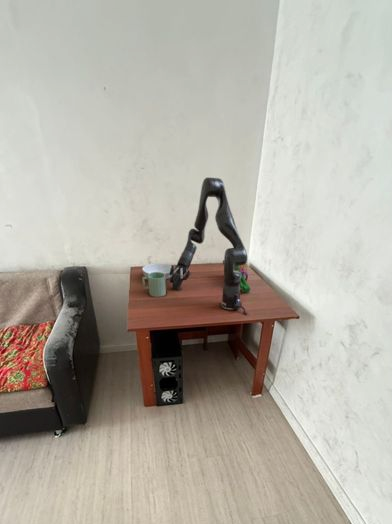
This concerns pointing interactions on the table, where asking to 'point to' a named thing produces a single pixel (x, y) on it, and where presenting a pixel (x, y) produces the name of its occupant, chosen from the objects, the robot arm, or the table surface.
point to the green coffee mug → (156, 284)
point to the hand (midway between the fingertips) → (174, 283)
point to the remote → (175, 281)
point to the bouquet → (242, 278)
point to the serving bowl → (157, 269)
